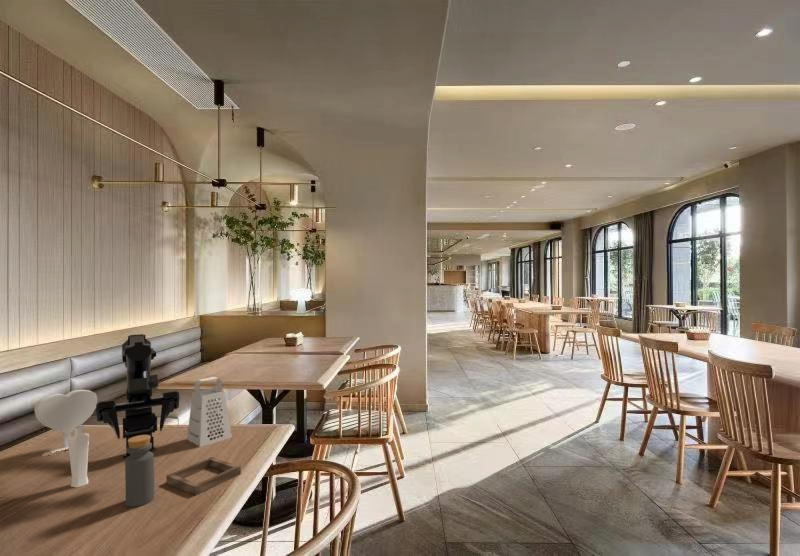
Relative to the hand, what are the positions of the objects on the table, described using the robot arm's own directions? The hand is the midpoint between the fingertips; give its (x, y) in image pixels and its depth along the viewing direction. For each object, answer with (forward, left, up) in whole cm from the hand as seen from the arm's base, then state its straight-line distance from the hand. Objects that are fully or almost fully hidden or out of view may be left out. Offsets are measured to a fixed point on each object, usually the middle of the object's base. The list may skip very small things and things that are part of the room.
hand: (140, 434), depth 107 cm
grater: (+1, +33, -14) cm, 36 cm away
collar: (+14, +4, -14) cm, 20 cm away
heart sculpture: (-42, +26, -14) cm, 51 cm away
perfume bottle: (-18, +2, -14) cm, 22 cm away
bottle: (+4, -7, -14) cm, 16 cm away
